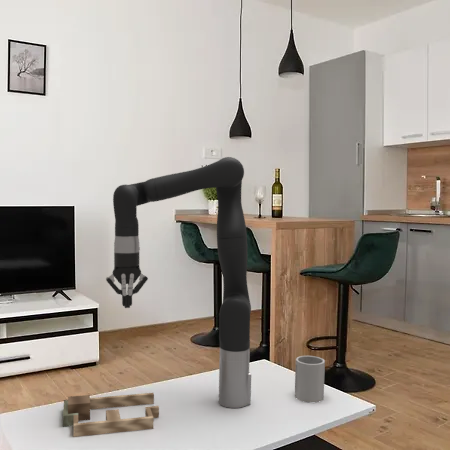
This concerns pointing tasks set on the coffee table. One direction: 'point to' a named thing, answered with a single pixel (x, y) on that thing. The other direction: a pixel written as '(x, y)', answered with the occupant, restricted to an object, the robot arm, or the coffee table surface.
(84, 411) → the walnut block
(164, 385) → the coffee table surface
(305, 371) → the cup
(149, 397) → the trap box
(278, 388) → the coffee table surface
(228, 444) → the coffee table surface
